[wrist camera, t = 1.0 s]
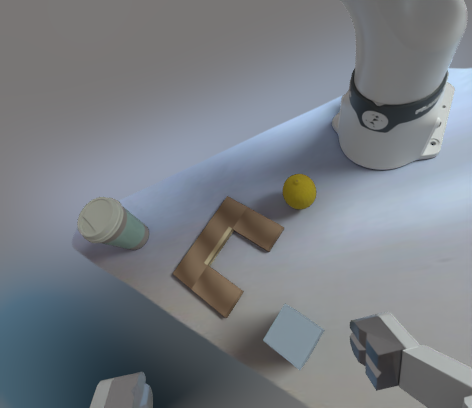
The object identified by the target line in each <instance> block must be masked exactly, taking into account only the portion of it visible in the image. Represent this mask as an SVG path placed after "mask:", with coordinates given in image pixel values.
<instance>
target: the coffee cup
mask: <svg viewBox="0 0 472 408" xmlns="http://www.w3.org/2000/svg"><path fill="white" fill-rule="evenodd" d="M78 230H79V232H80V233H81V234H82V235H83V237H84V238H85V239H86V240H88V241H89V242H92V243H104V244H108V245H112V246H117V247H121V248H126V249H130V250H137V249H140V248H141V247H143V246H144V245H145V243H146V242H147V240H148V237H149V230H148V228H147V226H146V225H144V224H143V223H142V222H141V221H140V220H138V219H137V218H136V217H135V216H133V215H132V214H131V213H130V212H129V211H127V210H126V209H125V208H124V207H122V205H121V204H120V202H119V201H117V200H115V199H112V198H105V197H99V198H96V199H93V200H92V201H90V202H89V203H88V204H87V205H86V206H85V207H84V208H83V210H82V211H81V213H80V215H79V218H78Z"/></svg>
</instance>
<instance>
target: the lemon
mask: <svg viewBox="0 0 472 408" xmlns="http://www.w3.org/2000/svg"><path fill="white" fill-rule="evenodd" d="M283 196H284V199H285V201H286V203H287V204H288V205H289V206H291V207H292V208H295V209H305V208H307V207H309V206H310V205H311V204H312V203H313V202H314V200H315V198H316V187H315V184H314V182H313V181H312V180H311V179H310V178H309V177H308V176H306V175H303V174H295V175H292V176H290V177H289V178H288V179H287V180H286V181H285V183H284V186H283Z"/></svg>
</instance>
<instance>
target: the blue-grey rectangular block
mask: <svg viewBox="0 0 472 408" xmlns="http://www.w3.org/2000/svg"><path fill="white" fill-rule="evenodd" d="M323 332H324V329H322V328H321V327H320V326H318V325H317V324H315V323H314V322H312V321H311V320H310V319H308V318H307V317H305V316H304V315H302V314H301V313H300V312H298V311H297V310H295V309H294V308H292V307H290V306H289V305H287V304H284V306H283V308H282V309H281V311H280V313H279V314H278V316H277V318H276V319H275V321H274V322H273V324H272V326H271V327H270V329H269V331H268V332H267V334H266V336H265V337H264V339H263V341H264V342H266V343H267V344H268V345H269V346H271V347H272V348H273V349H274V350H275V351H277V352H278V353H279V354H280V355H282V356H283V357H284V358H285V359H287V360H288V361H289V362H290V363H291V364H293V365H294V366H295V367H296V368H298V369H299V370H301V368H302V367H303V366H304V364H305V363H306V362H307V360H308V359H309V357H310V355H311V353H312V351H313V350H314V348H315V346H316V344H317V343H318V341H319V339H320V337H321V335H322V334H323Z"/></svg>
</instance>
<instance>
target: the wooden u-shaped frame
mask: <svg viewBox="0 0 472 408" xmlns="http://www.w3.org/2000/svg"><path fill="white" fill-rule="evenodd" d="M283 230H284V227H283V226H281V225H279V224H277V223H275V222H274V221H272V220H270V219H268V218H266V217H265V216H263V215H261V214H259V213H257V212H255V211H254V210H252V209H250V208H248V207H246V206H245V205H243V204H241V203H239V202H237V201H235V200H234V199H232V198H230V197H228V196H227V197H226V199H225V200H224V201H223V203H222V204H221V206H220V207H219V209H218V210H217V211H216V213H215V214H214V216H213V217H212V218H211V220H210V221H209V223H208V224H207V226H206V227H205V228H204V230H203V231H202V233H201V234H200V236H199V237H198V238H197V240H196V241H195V243H194V244H193V245H192V247H191V248H190V250H189V251H188V253H187V254H186V255H185V257H184V258H183V260H182V261H181V262H180V264H179V265H178V267H177V268H176V270H175V271H174V272H173V274H174V275H175V276H176V277H177V278H178V279H180V280H181V281H182V282H183V283H184V284H186V285H187V286H188V287H189V288H190V289H192V290H193V291H194V292H195V293H196V294H198V295H199V296H200V297H201V298H202V299H204V300H205V301H206V302H207V303H208V304H210V305H211V306H212V307H213V308H214V309H216V310H217V311H218V312H219V313H220V314H222V315H223V316H224V317H226V318H227V317H228V316H229V314H230V312H231V311H232V309H233V308H234V306H235V305H236V303H237V302H238V300H239V298H240V297H241V295H242V294H243V292H244V291H242V290H241V289H239V288H238V287H237V286H235V285H234V284H233V283H231V282H230V281H229V280H227V279H226V278H225V277H223V276H222V275H221V274H219V273H218V272H217V271H215V270H214V269H212V268H211V267H210V265H211V264H212V262H213V261H214V259H215V258H216V256H217V255H218V253H219V252H220V251H221V249H222V248H223V246H224V245H225V243H226V242H227V240H228V239H229V237H230V236H231V234H232V233H233V231H236V232H237V233H239V234H241V235H242V236H244V237H245V238H247V239H249V240H250V241H252V242H253V243H255V244H257V245H258V246H260V247H262V248H263V249H265V250H266V251H268V252H270V250H271V249H272V247H273V245H274V244H275V242H276V241H277V239H278V238H279V236H280V234H281V233H282V231H283Z"/></svg>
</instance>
